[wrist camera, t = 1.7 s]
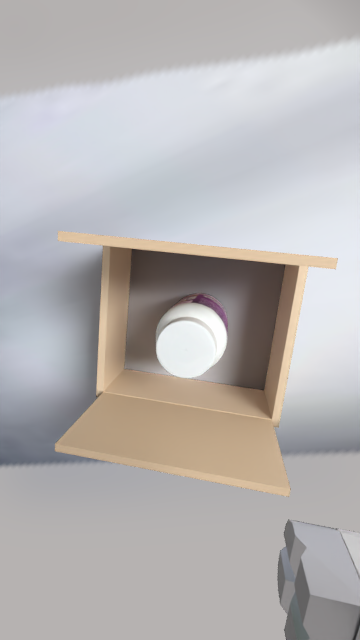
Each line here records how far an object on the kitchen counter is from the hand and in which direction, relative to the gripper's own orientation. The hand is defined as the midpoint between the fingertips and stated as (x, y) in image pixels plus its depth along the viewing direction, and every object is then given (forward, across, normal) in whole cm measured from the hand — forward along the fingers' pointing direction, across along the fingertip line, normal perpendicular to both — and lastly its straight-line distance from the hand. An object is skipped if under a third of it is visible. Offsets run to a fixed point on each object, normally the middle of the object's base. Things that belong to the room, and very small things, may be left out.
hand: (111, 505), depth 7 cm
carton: (+23, 0, 0) cm, 23 cm away
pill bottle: (+23, 0, 0) cm, 23 cm away
